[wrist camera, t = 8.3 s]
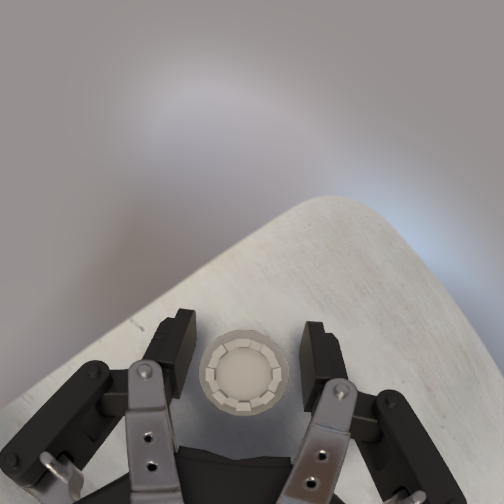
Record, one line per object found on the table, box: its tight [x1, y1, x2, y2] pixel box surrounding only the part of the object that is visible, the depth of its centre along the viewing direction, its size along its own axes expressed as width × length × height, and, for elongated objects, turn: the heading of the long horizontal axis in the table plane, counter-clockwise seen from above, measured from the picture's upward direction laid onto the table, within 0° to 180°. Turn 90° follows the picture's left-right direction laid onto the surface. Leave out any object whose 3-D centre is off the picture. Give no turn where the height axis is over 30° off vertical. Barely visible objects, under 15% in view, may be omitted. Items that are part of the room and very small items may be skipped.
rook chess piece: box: [199, 330, 289, 416], centre depth 13 cm, size 4×4×8 cm
